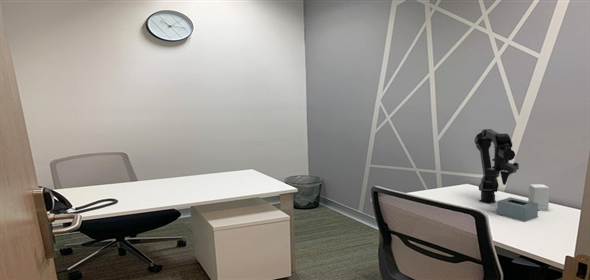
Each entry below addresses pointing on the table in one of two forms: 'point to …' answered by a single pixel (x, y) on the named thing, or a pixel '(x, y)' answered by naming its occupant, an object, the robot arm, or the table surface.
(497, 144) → the robot arm
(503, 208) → the box
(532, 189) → the supplement box
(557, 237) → the table surface
